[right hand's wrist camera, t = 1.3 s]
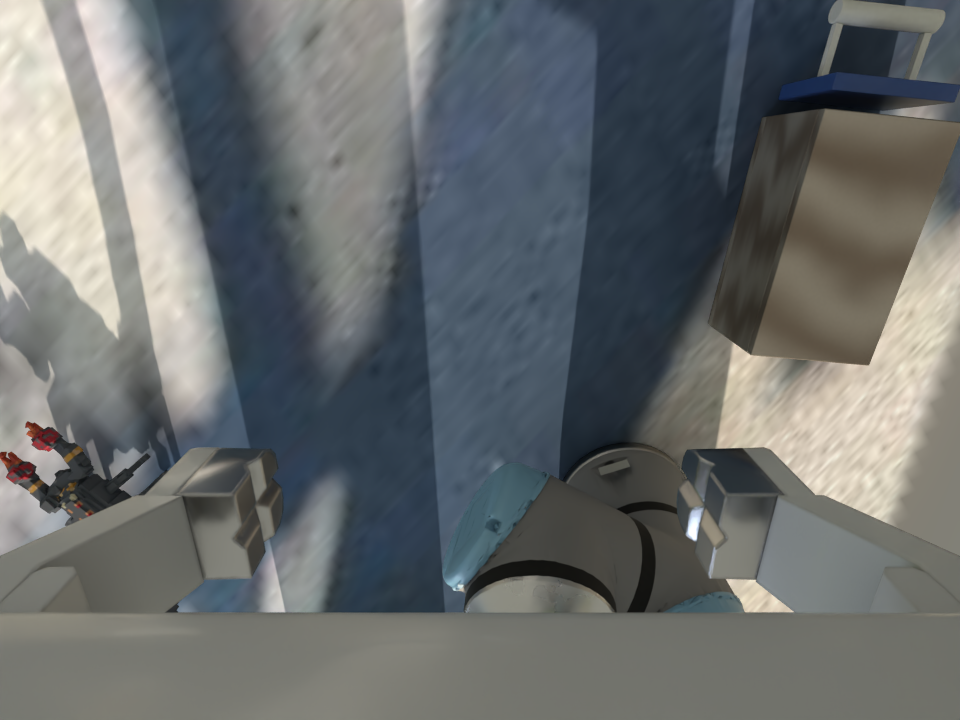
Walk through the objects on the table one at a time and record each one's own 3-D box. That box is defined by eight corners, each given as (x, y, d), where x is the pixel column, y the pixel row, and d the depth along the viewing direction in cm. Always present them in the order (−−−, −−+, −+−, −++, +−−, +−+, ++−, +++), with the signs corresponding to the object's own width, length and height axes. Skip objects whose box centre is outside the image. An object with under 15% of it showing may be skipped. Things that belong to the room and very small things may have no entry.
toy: (180, 591, 68) (80, 736, 51) (1, 453, 61) (-186, 569, 44) (250, 541, 65) (168, 677, 48) (71, 389, 58) (-101, 487, 40)
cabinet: (761, 117, 48) (825, 108, 39) (876, 129, 48) (964, 122, 39) (707, 323, 55) (750, 355, 46) (807, 332, 55) (869, 365, 46)
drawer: (802, 10, 44) (864, -18, 37) (912, 22, 44) (995, -3, 37) (726, 292, 53) (764, 313, 46) (818, 300, 53) (870, 322, 46)
